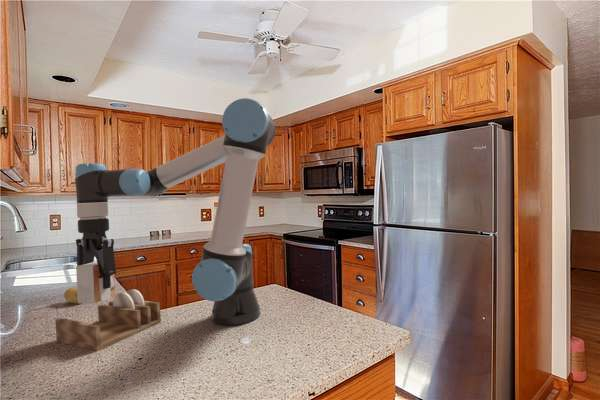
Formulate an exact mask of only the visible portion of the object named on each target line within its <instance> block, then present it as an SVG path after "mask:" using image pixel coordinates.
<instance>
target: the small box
mask: <svg viewBox="0 0 600 400" xmlns="http://www.w3.org/2000/svg"><path fill="white" fill-rule="evenodd" d="M75 271H76V273H75V274H76V287H77V296H78V303H77V304H97V303H99V302H101V301H100V293H99V278H98V277H99V276H101V275H100V271H99V266H98V263H97V260H96V261H95V260H94V262H92V263H88V264H84V265H79V266H77V265H76V266H75ZM104 273H105V272H104ZM115 274H116V273H115ZM115 274H113V275H111V276H110V280H111V287H110V290H111V298H112V297H115V296H116V295H117V294H116V293H117V292H116V275H115Z"/></svg>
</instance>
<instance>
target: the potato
mask: <svg viewBox="0 0 600 400" xmlns="http://www.w3.org/2000/svg"><path fill="white" fill-rule="evenodd" d="M63 297H64V299H65V301H66V302H68V303H71V304H79V303H78V296H77V286H72V287H69V288H67V289H66V290H65V291H64V293H63Z"/></svg>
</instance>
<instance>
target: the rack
mask: <svg viewBox="0 0 600 400" xmlns="http://www.w3.org/2000/svg"><path fill="white" fill-rule="evenodd" d="M97 313H98V314H97V315H98V321H97V320H96V321H95V322H92V323H88V322H87V323H86V322H83V321H79V320H72V319H68V318H62V317H57V318H55V335H56V336H55V337H56V342H60V343H64V344H67V345H71V346H75V347H79V348H83V349H86V350H90V351H91V350H92V351H94V352H99V351H101V350H103V349H105V348H107V347H110V346H112V345H114V344H117V343H118V342H121V341H123V340H125V339H127V338H130V337H132V336H134V335H136V334H138V333H140V332H143V331H145V330H147V328H148V329H149V327H150V328H151V327H154V326H156V325H159V324H161V323H162V321H161V320H162V319H161V318H162V317H161V303H160V302H156V301H150V300H144V296H143V295H142V293H141V292H140V291H139V290H138V289H135V288H134V289H129V290H127V291H126V292H119V293H117V294H116V295H115V296H114V298H113V300H109V301H108V304H102V303H101V304H98V305H97ZM160 322H161V323H160ZM158 323H159V324H158Z"/></svg>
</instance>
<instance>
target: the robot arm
mask: <svg viewBox="0 0 600 400" xmlns="http://www.w3.org/2000/svg"><path fill="white" fill-rule="evenodd" d="M221 124H222V128H223V130H224V133H225V134H224V135H223V136H220V137H218V138H215V139H214V140H211V141H210V142H208V143H206V144H203V145H200V146H199V147H197V148H194V149H192V150H190V151H189V152H187V153H185V154H182V155H180V156H177V157H176V158H174V159H171V160H169V161H167V162H165V163H163V164H161V165H159V166H157V167H155V168H152V169H151V170H148V171H146V170H145V169H142V168H128V169H127V168H125V169H112V170H110V169H107V165H105V164H104V163H95V162H94V163H93V162H90V163H88V162H87V163H79V164H77V165H76V166H75V178H74V183H75V190H76V191H75V192H76V217H77V218H78V221H77V233H79V234H82V237H81V238H77V239H75V244H76V266H79V265H84V264H88V263H92V262H95V259H96V261H97V263H98V266H99V271H100V275H101V276H99V277H98V278H99V293H100V301H99V302H103V301H108V300H110V299H111V298H112V297H111V290H110V287H111V280H110V276H111V275H113V274H117V270H116V257H115V251H114V245H115V240H114V239H113V238H108V237H107V235H106V232H108V231H109V230H110V220H109V218H107V217H108V216H109V205H108V202H109V201H108V200H109V199H108V198H110V197H143V196H144V197H157V196H161V195H163V194H164V193H166V192H167V189H168V190H169V188H172V187H174V186H177V185H178V184H181V183H182V182H186V181H187V180H189V179H192V178H194V177H196V176H198V175H200V174H202V173H205V172H206V171H209V170H211V169H213V168H216V167H217V166H220V165H222V164H224V163H225V164H224V169H223V175H222V180H221V184H220V190H219V195H218V201H217V204H216V205H217V206H216V210H215V215H214V219H213V220H214V222H213V227H212V231H211V236H210V240H209V241H207V242H206V243H205V244H204V245H203V247H202V248H203V249H202V253H201V258H200V261H199V262H198V263H197V264H196V266H195V268H194V269H193V271H192V274H191V275H192V276H191V282H192V286H193V289H194V290H195V292H197V295H199V297H201V298H202V299H205V300H206V301H210V302H214V303H213V307H212V310H211V321H212V322H213V323H214V324H217V325H222V326H235V325H236V326H237V325H242V324H247V323H249V322H252V321H255V320H257V319H258V318H259V317H260V315H261V306H260V304H259V302H258V298H257V296H256V293H255V291H254V274H253V273H254V271H253V252H252V246H251V245H250V244H248V243H243V240H244V236H245V230H246V226H247V222H248V216H249V211H250V206H251V201H252V200H251V199H252V195H253V191H254V190H253V189H254V185H255V179H256V175H257V170H258V165H259V162H260V160H262V159H263V158H264V157H265V156H266V152H267V148H268V147H269V146H270V145H271V144H272V142H273V141H274V139H275V136H276V131H277V130H276V124H275V121H274V119H273V118H272V117H271V116H270V114H269V112H268V110H267V108H266V107H265V106H264V105H263V104H262V103H260V102H258V101H257V100H256V99H252V98H247V97H246V98H245V97H244V98H239V99H235V100H234V101H232V102H231V103H230V104H228V106H227V107H226V108H225V109H224V112H223V114H222V120H221ZM104 272H105V273H104Z"/></svg>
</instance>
